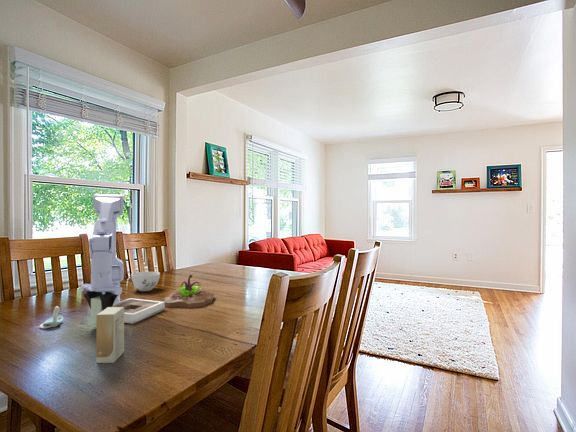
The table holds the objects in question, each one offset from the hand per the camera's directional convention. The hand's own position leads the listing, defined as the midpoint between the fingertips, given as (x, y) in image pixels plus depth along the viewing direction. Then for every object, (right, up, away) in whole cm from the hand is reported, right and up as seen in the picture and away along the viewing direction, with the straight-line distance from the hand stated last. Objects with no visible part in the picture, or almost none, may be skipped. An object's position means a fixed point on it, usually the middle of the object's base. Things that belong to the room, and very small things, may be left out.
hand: (101, 314), depth 102 cm
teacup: (-8, -4, +50) cm, 51 cm away
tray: (+3, -4, +14) cm, 15 cm away
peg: (0, -2, 0) cm, 2 cm away
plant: (+19, -5, +32) cm, 37 cm away
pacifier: (-17, -4, +1) cm, 17 cm away
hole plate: (+3, -4, +14) cm, 15 cm away
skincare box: (+15, -5, -21) cm, 26 cm away
